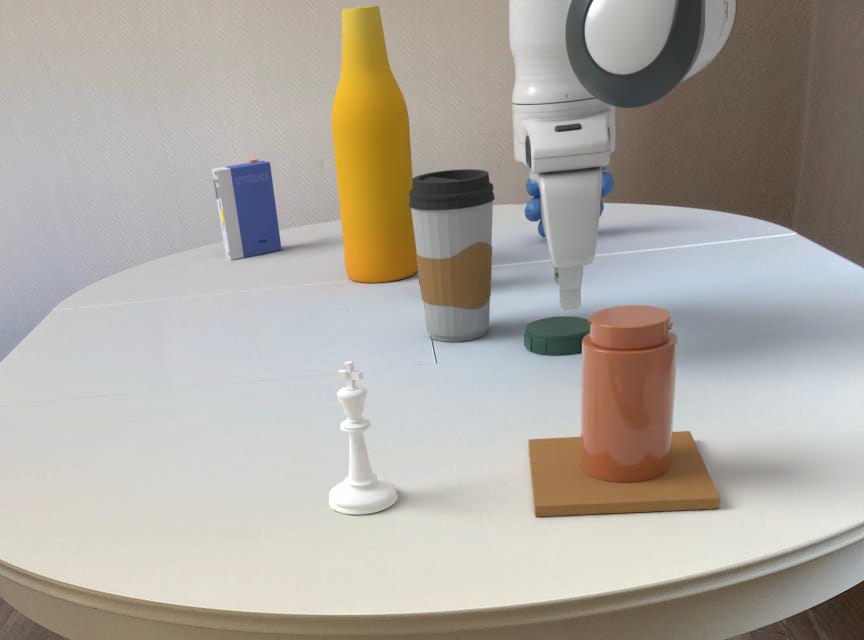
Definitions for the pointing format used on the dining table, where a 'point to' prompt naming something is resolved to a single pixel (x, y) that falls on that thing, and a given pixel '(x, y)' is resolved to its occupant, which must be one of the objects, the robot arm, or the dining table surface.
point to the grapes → (535, 203)
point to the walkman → (247, 209)
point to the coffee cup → (454, 251)
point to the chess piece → (358, 456)
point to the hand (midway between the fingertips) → (566, 294)
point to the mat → (582, 494)
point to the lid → (556, 335)
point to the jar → (628, 393)
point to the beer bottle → (372, 155)
